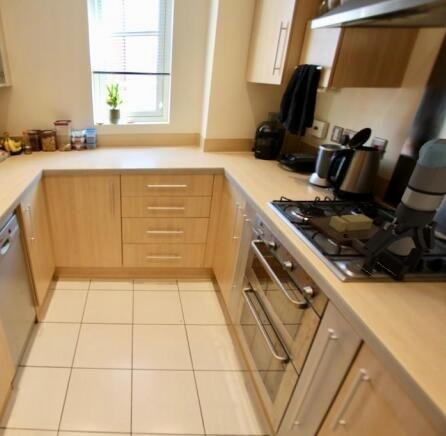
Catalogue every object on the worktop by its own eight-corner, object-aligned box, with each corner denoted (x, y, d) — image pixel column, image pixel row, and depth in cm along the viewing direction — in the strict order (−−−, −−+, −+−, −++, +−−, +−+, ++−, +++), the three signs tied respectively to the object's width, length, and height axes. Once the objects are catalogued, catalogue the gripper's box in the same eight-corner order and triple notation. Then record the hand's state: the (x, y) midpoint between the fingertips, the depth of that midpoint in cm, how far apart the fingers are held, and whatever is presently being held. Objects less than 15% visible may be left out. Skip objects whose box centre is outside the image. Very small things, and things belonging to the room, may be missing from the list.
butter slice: (344, 231, 109) (347, 222, 108) (339, 231, 109) (342, 222, 108) (334, 224, 114) (337, 215, 112) (329, 224, 114) (331, 216, 112)
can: (413, 250, 101) (430, 217, 95) (410, 260, 96) (427, 225, 91) (384, 241, 106) (398, 209, 100) (380, 250, 101) (394, 217, 96)
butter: (369, 229, 110) (373, 220, 109) (348, 230, 109) (352, 222, 108) (358, 222, 115) (362, 213, 113) (338, 224, 114) (341, 215, 112)
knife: (402, 279, 88) (409, 265, 86) (396, 280, 88) (403, 265, 86) (353, 245, 104) (358, 232, 102) (348, 245, 104) (353, 232, 102)
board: (392, 240, 106) (394, 236, 106) (337, 244, 105) (338, 241, 104) (355, 218, 120) (357, 214, 120) (306, 222, 119) (307, 218, 118)
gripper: (446, 196, 86) (413, 259, 96) (362, 202, 84) (338, 266, 94) (477, 208, 80) (438, 275, 90) (387, 214, 77) (357, 282, 87)
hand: (387, 270), depth 92 cm, fingers open, 13 cm apart
